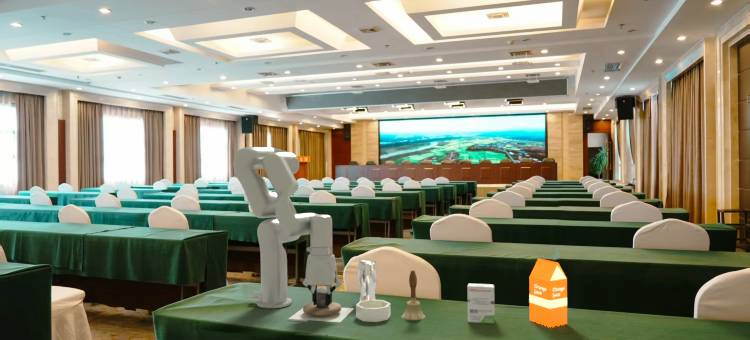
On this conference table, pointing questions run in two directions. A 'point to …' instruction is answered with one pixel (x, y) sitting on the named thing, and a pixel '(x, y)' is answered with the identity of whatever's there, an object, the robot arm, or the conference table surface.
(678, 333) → the conference table surface
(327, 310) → the lid
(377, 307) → the bowl
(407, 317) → the hand bell
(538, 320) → the orange juice
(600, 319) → the conference table surface
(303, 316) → the mat
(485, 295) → the ink box
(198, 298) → the conference table surface
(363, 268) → the beer glass
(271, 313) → the conference table surface
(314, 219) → the robot arm
